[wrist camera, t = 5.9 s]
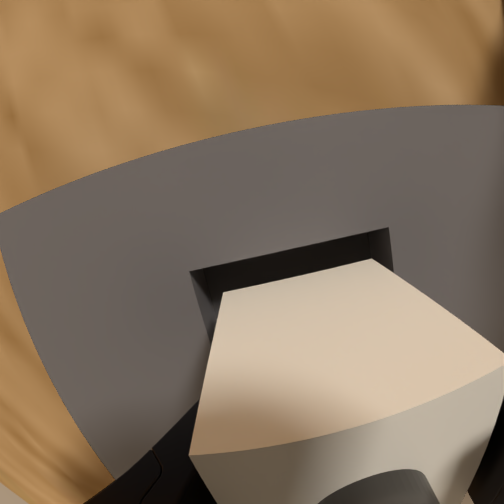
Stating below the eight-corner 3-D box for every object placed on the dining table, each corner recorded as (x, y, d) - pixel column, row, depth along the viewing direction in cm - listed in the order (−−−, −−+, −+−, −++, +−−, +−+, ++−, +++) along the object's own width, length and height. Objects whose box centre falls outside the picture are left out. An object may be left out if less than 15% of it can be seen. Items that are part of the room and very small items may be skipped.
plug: (371, 258, 9) (600, 436, 1) (380, 378, 10) (487, 568, 2) (223, 292, 9) (163, 599, 1) (256, 408, 10) (264, 636, 2)
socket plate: (479, 113, 10) (515, 106, 8) (486, 366, 13) (511, 388, 11) (30, 209, 11) (-8, 216, 9) (129, 449, 14) (116, 481, 11)
